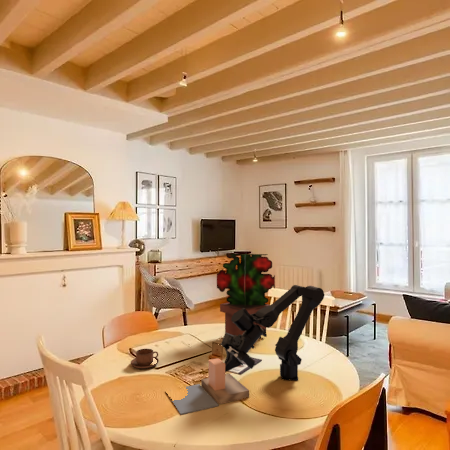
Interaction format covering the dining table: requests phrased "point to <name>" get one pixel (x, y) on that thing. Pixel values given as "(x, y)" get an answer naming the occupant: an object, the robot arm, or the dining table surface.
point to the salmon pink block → (217, 374)
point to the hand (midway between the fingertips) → (222, 372)
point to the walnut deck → (226, 390)
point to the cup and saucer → (144, 358)
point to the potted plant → (244, 286)
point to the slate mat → (195, 400)
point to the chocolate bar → (244, 367)
